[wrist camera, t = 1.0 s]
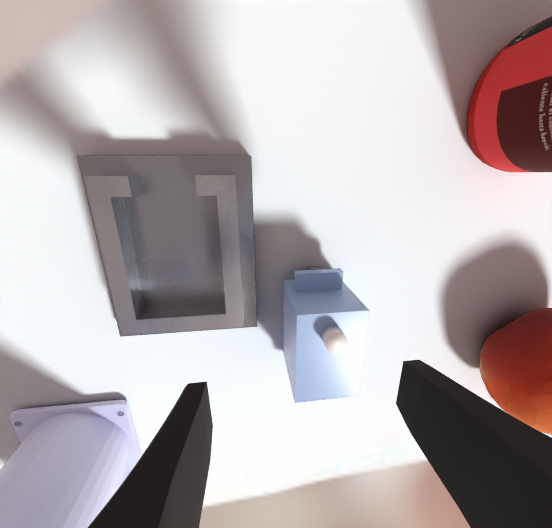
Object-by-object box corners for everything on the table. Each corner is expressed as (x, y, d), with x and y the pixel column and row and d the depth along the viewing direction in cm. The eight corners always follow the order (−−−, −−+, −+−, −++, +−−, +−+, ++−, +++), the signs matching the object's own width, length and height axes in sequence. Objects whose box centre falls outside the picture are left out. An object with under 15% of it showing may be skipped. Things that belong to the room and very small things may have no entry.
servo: (331, 358, 21) (361, 421, 16) (282, 362, 21) (297, 429, 15) (339, 260, 18) (379, 297, 13) (283, 263, 18) (300, 301, 12)
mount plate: (256, 319, 19) (258, 339, 17) (126, 327, 18) (109, 351, 16) (250, 156, 15) (252, 153, 13) (87, 156, 14) (57, 153, 12)
